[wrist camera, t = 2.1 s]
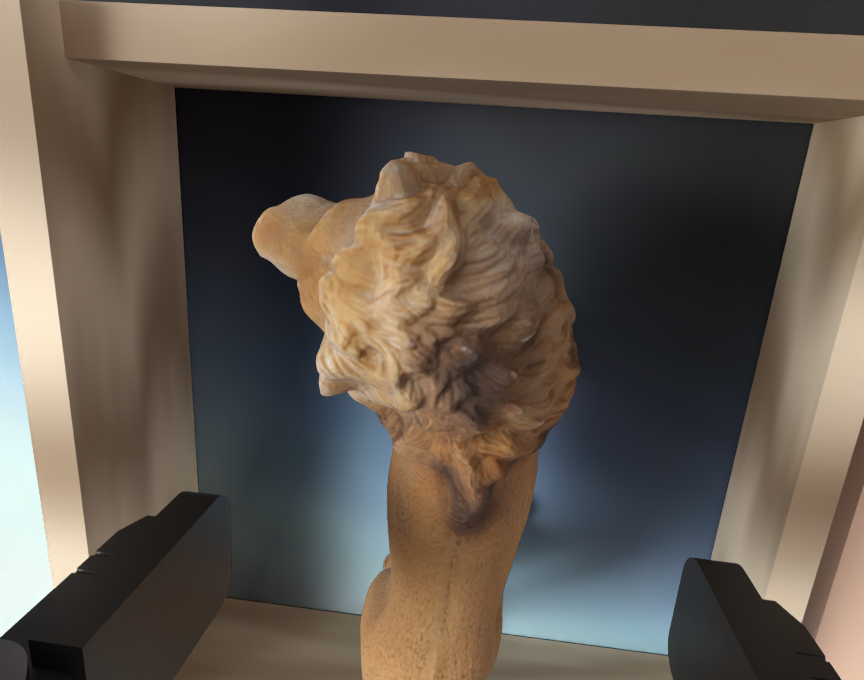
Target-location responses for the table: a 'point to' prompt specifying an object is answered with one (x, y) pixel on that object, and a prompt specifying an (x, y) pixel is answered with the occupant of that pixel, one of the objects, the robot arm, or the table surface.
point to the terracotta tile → (842, 579)
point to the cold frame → (394, 80)
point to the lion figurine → (437, 389)
